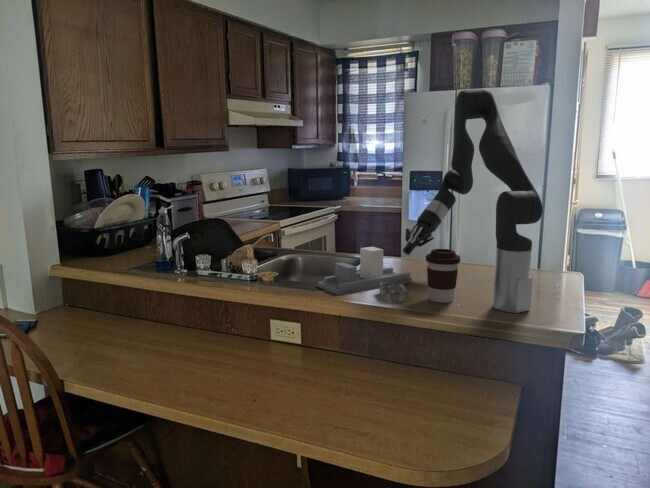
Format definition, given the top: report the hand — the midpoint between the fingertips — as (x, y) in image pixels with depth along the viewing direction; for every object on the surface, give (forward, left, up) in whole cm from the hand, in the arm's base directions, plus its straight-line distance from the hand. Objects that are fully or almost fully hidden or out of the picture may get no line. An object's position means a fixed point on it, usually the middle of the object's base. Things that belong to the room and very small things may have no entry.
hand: (405, 253), depth 177 cm
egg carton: (-16, +19, -9) cm, 26 cm away
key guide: (0, +17, -9) cm, 19 cm away
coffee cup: (-26, +8, -9) cm, 29 cm away
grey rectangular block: (0, +25, -7) cm, 26 cm away
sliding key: (0, +15, -7) cm, 16 cm away
